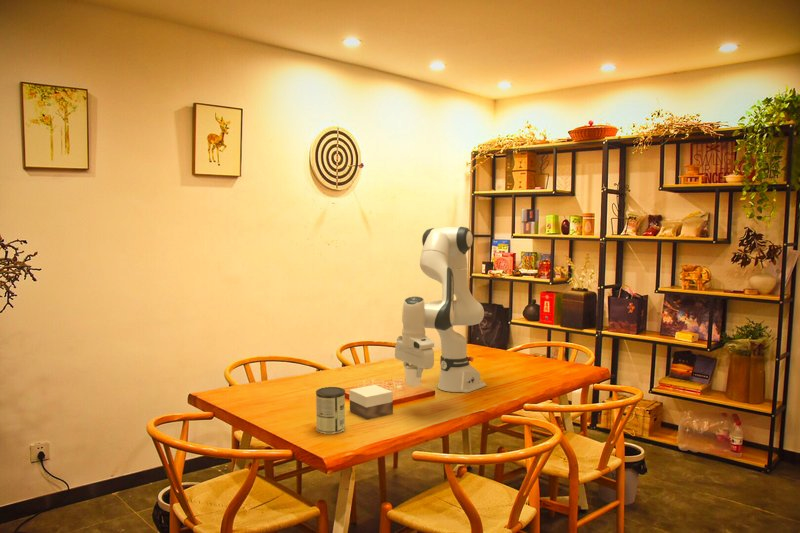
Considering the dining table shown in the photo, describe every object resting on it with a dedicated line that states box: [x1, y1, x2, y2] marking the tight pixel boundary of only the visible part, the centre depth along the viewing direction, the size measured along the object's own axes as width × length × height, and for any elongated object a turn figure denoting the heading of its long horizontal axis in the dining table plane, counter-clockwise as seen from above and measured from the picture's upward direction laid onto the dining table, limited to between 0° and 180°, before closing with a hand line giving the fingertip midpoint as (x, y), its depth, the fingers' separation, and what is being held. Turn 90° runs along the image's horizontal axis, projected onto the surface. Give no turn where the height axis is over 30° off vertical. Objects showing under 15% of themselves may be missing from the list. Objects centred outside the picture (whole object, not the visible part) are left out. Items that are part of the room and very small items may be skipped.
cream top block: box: [348, 384, 393, 408], centre depth 239 cm, size 12×12×4 cm
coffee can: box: [315, 386, 346, 435], centre depth 220 cm, size 10×10×14 cm
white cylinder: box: [404, 364, 422, 387], centre depth 237 cm, size 7×7×7 cm
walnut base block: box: [349, 400, 394, 421], centre depth 240 cm, size 12×12×5 cm
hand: (413, 375), depth 237 cm, fingers closed on white cylinder, 5 cm apart
